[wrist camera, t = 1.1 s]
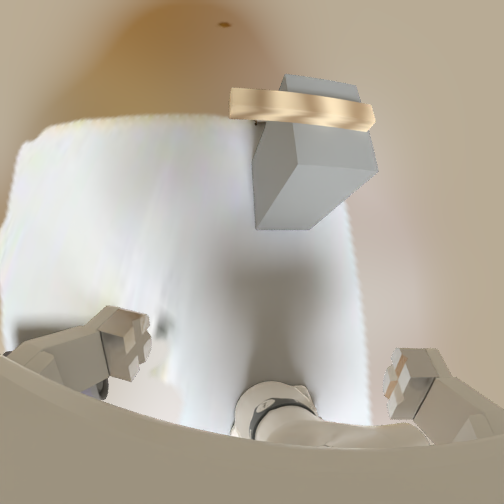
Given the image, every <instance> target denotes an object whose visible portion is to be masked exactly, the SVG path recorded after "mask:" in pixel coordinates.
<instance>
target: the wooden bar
mask: <svg viewBox="0 0 504 504" xmlns="http://www.w3.org/2000/svg"><path fill="white" fill-rule="evenodd" d="M229 119H248V120H265V121H279V122H291V123H301V124H311V125H320V126H328V127H335V128H343V129H350V130H356V131H362V132H367V131H368V130H369V129H370V127H372V125H373V124H374V123H375V122H376V120H375V117H374V113H373V110H372V106H371V105H368V104H364V103H359V102H353V101H348V100H342V99H336V98H330V97H324V96H317V95H310V94H302V93H294V92H285V91H275V90H263V89H249V88H231V92H230V98H229Z"/></svg>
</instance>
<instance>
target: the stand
mask: <svg viewBox="0 0 504 504" xmlns="http://www.w3.org/2000/svg"><path fill="white" fill-rule="evenodd" d="M279 91H285V92H294V93H302V94H310V95H317V96H324V97H330V98H336V99H342V100H348V101H353V102H359V103H361V100H360V97H359V94H358V91H357V87H356V86H355V85H351V84H346V83H341V82H335V81H330V80H324V79H317V78H311V77H305V76H297V75H290V74H285V75H284V78H283V81H282V83H281V86H280V88H279ZM377 172H378V167H377V162H376V158H375V153H374V149H373V145H372V141H371V137H370V133H369V130H368V131H367V132H362V131H356V130H350V129H343V128H335V127H328V126H320V125H311V124H301V123H291V122H279V121H267V123H266V125H265V128H264V131H263V134H262V136H261V139H260V142H259V145H258V147H257V150H256V153H255V156H254V158H253V161H252V174H253V191H254V208H255V226H256V230H310V229H311V228H312V227H313V226H315V225H316V224H317V223H318V222H319V221H321V220H322V219H323V218H324V217H325V216H326V215H328V214H329V213H330V212H331V211H332V210H334V209H335V208H336V207H337V206H338V205H340V204H341V203H342V202H343V201H344V200H346V199H347V198H348V197H349V196H350V195H351V194H353V193H354V192H355V191H356V190H357V189H359V188H360V187H361V186H362V185H363V184H364V183H366V182H367V181H368V180H369V179H370V178H372V177H373V176H374V175H375V174H376V173H377Z"/></svg>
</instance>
